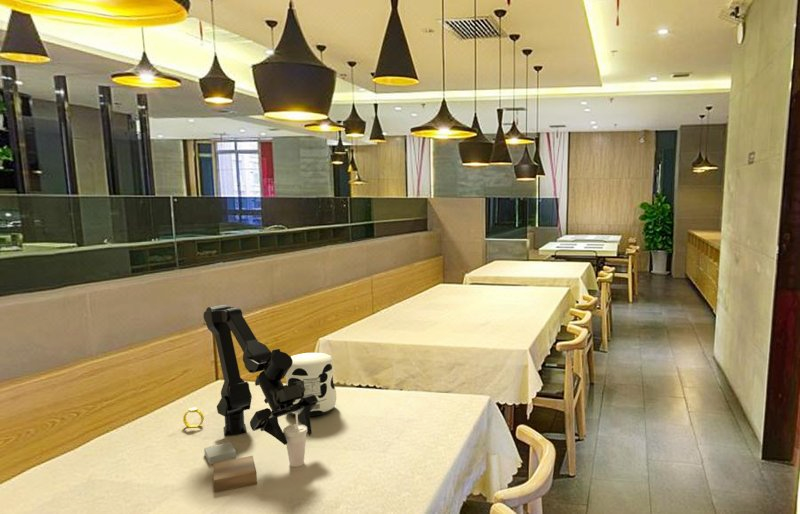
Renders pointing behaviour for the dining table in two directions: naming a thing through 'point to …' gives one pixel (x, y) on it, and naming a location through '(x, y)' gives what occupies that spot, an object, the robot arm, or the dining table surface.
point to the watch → (193, 411)
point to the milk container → (314, 380)
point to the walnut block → (234, 473)
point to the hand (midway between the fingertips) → (298, 439)
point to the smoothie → (296, 442)
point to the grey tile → (220, 452)
